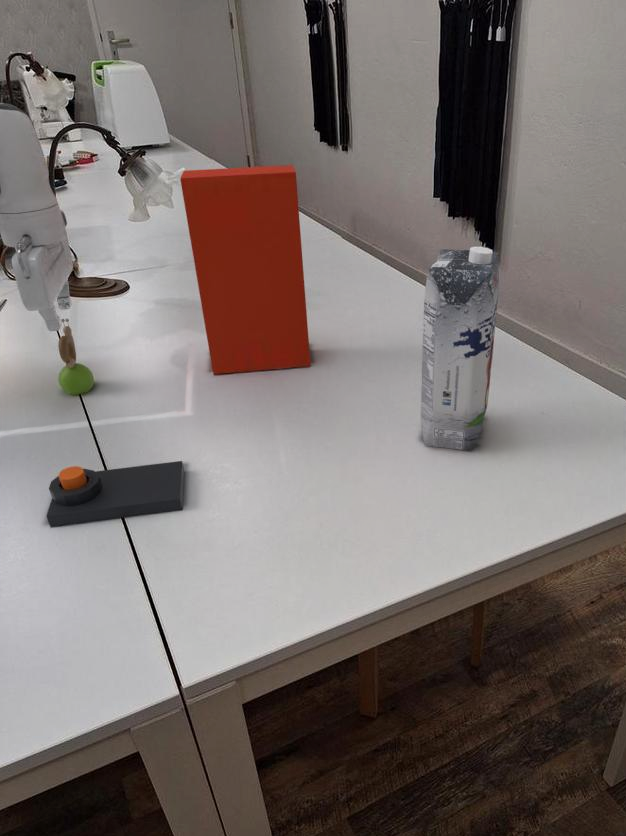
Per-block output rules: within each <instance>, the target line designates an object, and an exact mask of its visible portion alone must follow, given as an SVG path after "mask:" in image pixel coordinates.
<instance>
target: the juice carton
mask: <svg viewBox="0 0 626 836" xmlns="http://www.w3.org/2000/svg"><path fill="white" fill-rule="evenodd" d="M499 266H500V264H499V252H497V251H494V250H493V249H491V248H489V247H484V246H472V247H470V248H469V249H449V248H448V249H447V248H446V249H445V248H441V249H440V250H439V252H438V254H437V259H436V261H435V262H433V263H432V264H431V265H430V266H429V267H428V270H427V272H426V273H427V274H426V282H425V289H424V298H423V319H422V320H423V323H422V324H423V325H422V355H421V356H422V357H421V358H422V359H421V384H420V385H421V386H420V387H421V388H420V389H421V390H420V425H421V432H422V433H421V434H422V439H423V443H424V445H425V446H427V447H435V448H443V449H452V450H460V451H468V452H472V451H474V450H475V448H476V445H477V443H478V441H479V438H480V435H481V431H482V429H483V425H484V420H485V416H486V413H487V408H488V403H489V395H490V386H491V385H490V384H491V374H492V364H493V355H494V345H495V344H494V343H495V334H496V323H497V314H498V303H499V291H500V269H499V268H500V267H499Z"/></svg>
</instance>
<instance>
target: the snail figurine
mask: <svg viewBox="0 0 626 836" xmlns="http://www.w3.org/2000/svg"><path fill="white" fill-rule="evenodd" d="M60 321H61V323H63V326H64V327H63V328H62V332H63V335H62V336H60V337H59V339H58V343H57V345H58V353H59V357H60V359H61V361H62V362H63V363H65V365H64V366H63V367H62V368H61V370H60V371H59V373H58V384H59V386H60V388H61V390H62V391H64V392H65V393H66V394H68V395H71V396H79V395H84V394H86V393H89V392H90V391H91V390H92V389H93V387H94V384H95V378H94V374H93V372H92V371H91V369H90V368H89V367H87V366H86V365H84V364H82V363H78V362H77V350H76V344H75V339H74V336H73V334H72V331H73V330H72V328H71V327H70V324H69V321H70V319H68V318H65V319H64V318H60ZM65 322H66V323H67V325H65Z"/></svg>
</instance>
